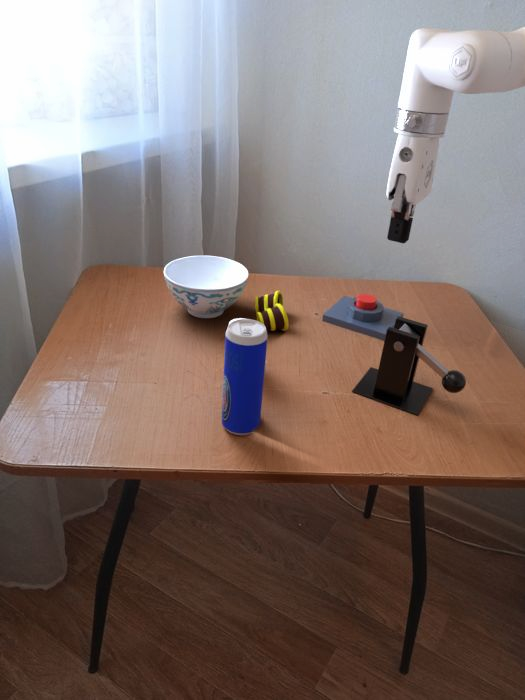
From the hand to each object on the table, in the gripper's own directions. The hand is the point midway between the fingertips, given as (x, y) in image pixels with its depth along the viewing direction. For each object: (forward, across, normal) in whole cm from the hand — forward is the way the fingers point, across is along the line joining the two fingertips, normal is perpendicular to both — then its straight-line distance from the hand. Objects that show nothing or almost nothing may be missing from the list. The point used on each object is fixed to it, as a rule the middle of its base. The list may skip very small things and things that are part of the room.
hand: (397, 240), depth 93 cm
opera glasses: (+17, -10, +18) cm, 26 cm away
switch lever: (+11, -19, -12) cm, 25 cm away
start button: (+13, 0, +3) cm, 14 cm away
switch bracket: (+17, -19, -8) cm, 27 cm away
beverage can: (+17, -38, +7) cm, 42 cm away
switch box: (+17, 0, +4) cm, 17 cm away
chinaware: (+17, -13, +30) cm, 36 cm away
